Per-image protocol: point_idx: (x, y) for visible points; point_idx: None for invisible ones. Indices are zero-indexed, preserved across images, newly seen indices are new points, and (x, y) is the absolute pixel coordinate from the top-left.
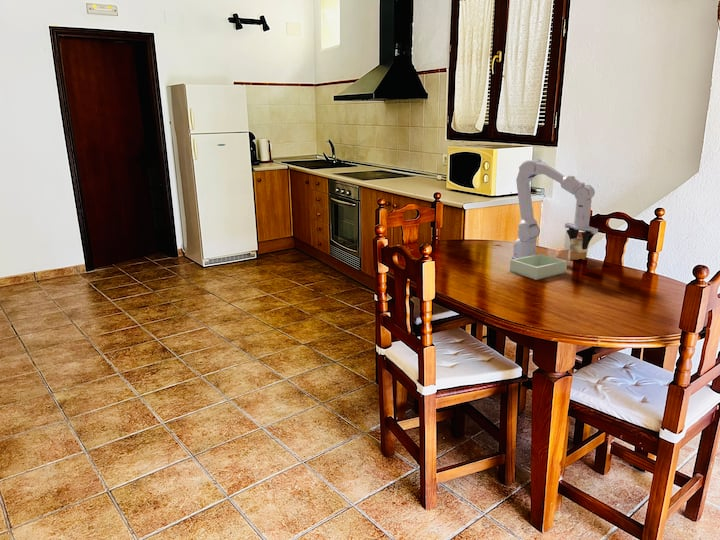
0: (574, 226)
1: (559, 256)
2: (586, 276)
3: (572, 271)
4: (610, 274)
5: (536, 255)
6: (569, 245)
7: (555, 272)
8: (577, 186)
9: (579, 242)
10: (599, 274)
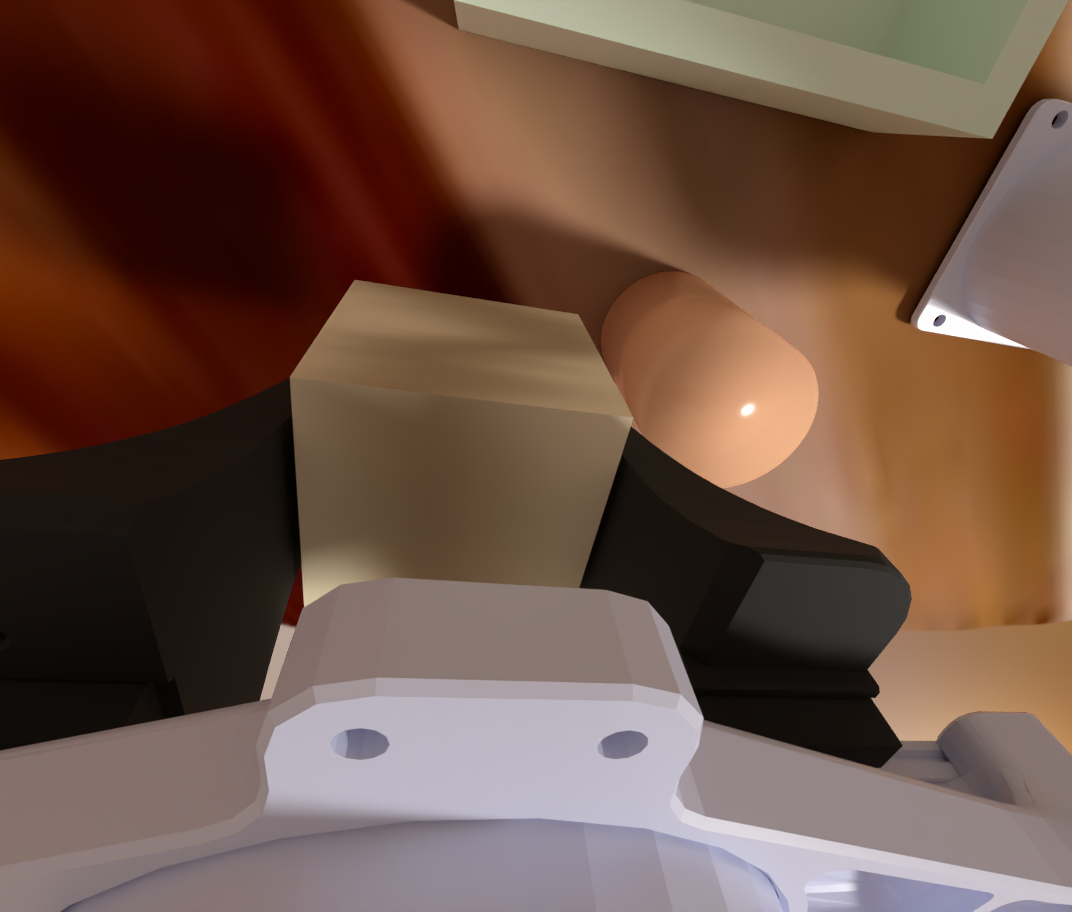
0: (653, 799)
1: (709, 307)
2: (181, 76)
3: (442, 173)
4: (124, 385)
5: None
6: None
7: None
8: None
9: (347, 364)
10: (178, 299)
